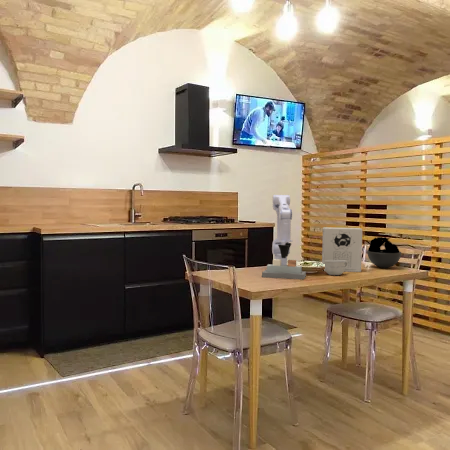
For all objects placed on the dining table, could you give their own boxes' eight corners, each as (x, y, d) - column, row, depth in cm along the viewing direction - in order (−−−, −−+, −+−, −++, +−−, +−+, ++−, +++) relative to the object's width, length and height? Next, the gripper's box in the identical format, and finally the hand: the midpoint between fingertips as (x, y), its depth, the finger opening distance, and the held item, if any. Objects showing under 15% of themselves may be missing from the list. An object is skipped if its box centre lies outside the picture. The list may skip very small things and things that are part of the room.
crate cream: (273, 264, 254) (274, 259, 254) (281, 264, 253) (281, 259, 253) (272, 265, 250) (272, 260, 250) (280, 265, 249) (280, 260, 249)
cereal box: (358, 270, 277) (360, 228, 276) (361, 272, 270) (362, 228, 268) (321, 269, 280) (322, 227, 278) (323, 271, 272) (324, 228, 271)
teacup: (329, 276, 253) (329, 261, 253) (321, 273, 264) (321, 259, 263) (353, 276, 256) (353, 261, 255) (344, 272, 266) (344, 258, 266)
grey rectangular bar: (266, 271, 250) (266, 265, 250) (268, 270, 255) (268, 264, 255) (300, 273, 246) (300, 267, 245) (301, 272, 250) (301, 265, 250)
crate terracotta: (288, 265, 252) (288, 259, 252) (296, 265, 251) (296, 260, 250) (287, 266, 248) (287, 260, 248) (295, 266, 247) (295, 261, 247)
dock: (265, 273, 259) (265, 269, 258) (305, 276, 253) (305, 271, 253) (261, 277, 248) (262, 272, 248) (303, 279, 242) (303, 274, 242)
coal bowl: (375, 264, 303) (376, 235, 302) (406, 267, 289) (407, 237, 288) (360, 267, 288) (361, 237, 287) (392, 271, 274) (393, 239, 273)
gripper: (291, 233, 242) (290, 259, 243) (294, 231, 256) (293, 255, 257) (277, 232, 244) (276, 258, 245) (281, 230, 258) (281, 255, 259)
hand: (284, 257), depth 251 cm, fingers open, 7 cm apart
